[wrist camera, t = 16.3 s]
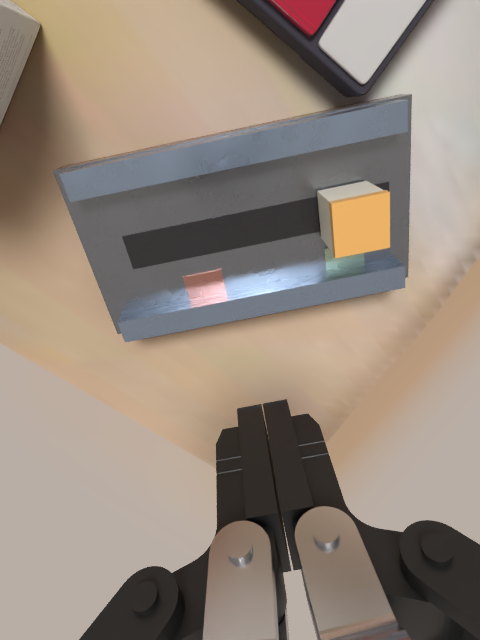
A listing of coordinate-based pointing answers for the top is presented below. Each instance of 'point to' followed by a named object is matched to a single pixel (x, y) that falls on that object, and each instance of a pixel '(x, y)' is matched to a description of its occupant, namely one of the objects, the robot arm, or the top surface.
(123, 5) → the top surface
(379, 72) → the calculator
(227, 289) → the panel
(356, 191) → the breaker toggle
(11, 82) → the small box
